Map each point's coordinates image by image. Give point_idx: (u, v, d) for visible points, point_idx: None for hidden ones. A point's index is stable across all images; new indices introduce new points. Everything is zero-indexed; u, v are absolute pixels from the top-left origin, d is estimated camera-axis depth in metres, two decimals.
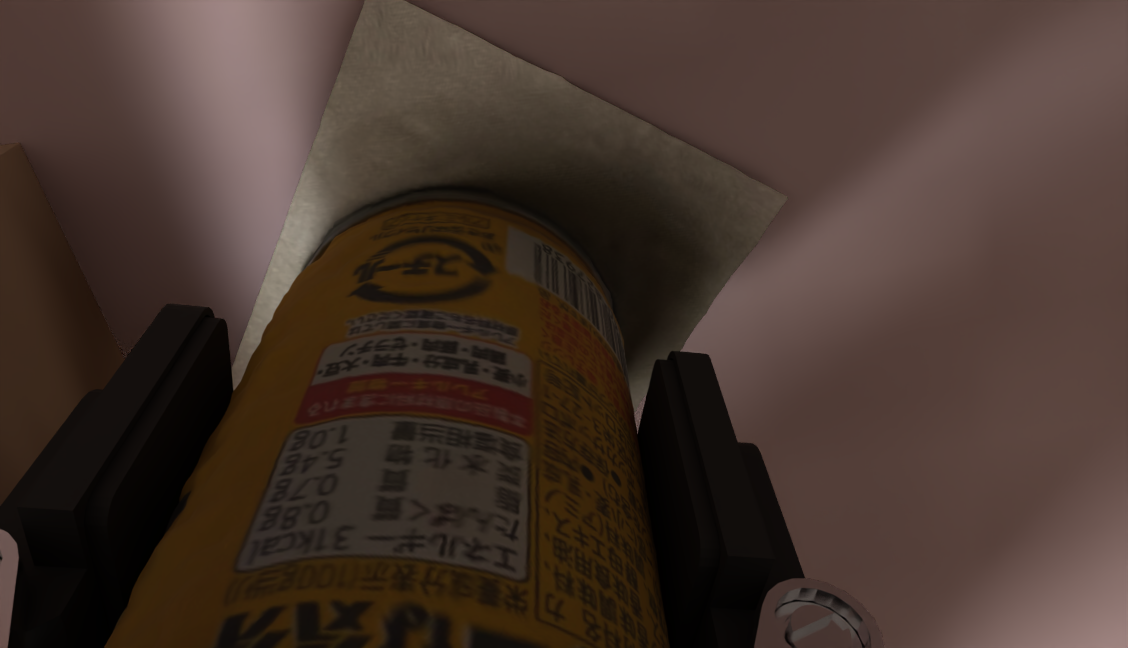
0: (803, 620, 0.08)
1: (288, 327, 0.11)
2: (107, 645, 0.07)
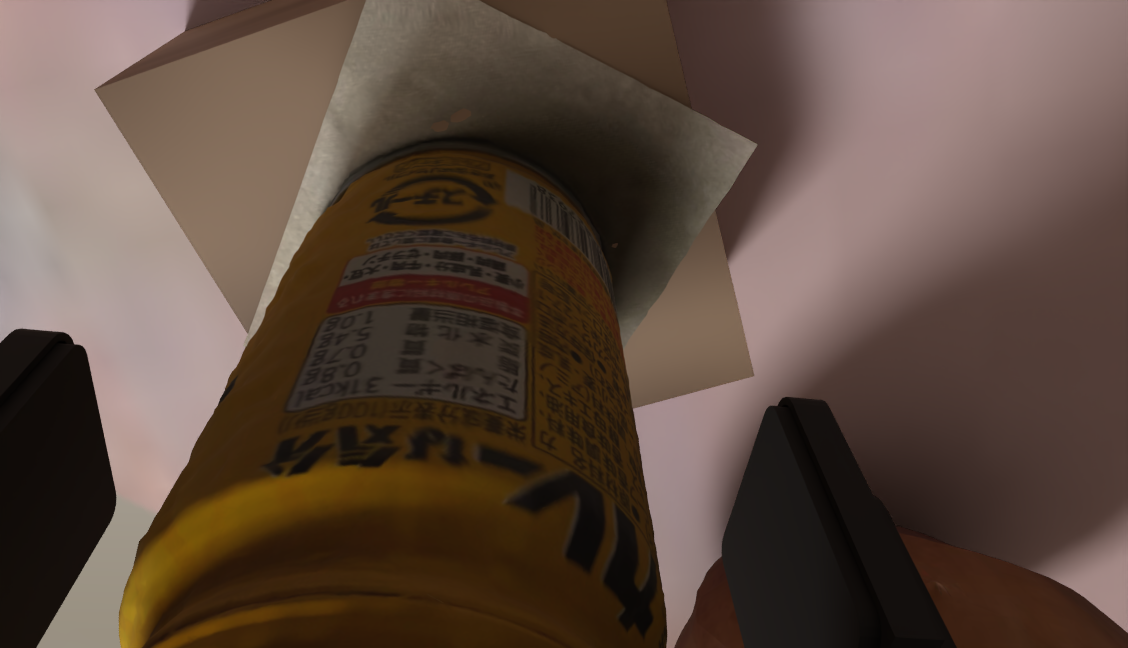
0: None
1: (314, 251, 0.12)
2: (178, 479, 0.09)
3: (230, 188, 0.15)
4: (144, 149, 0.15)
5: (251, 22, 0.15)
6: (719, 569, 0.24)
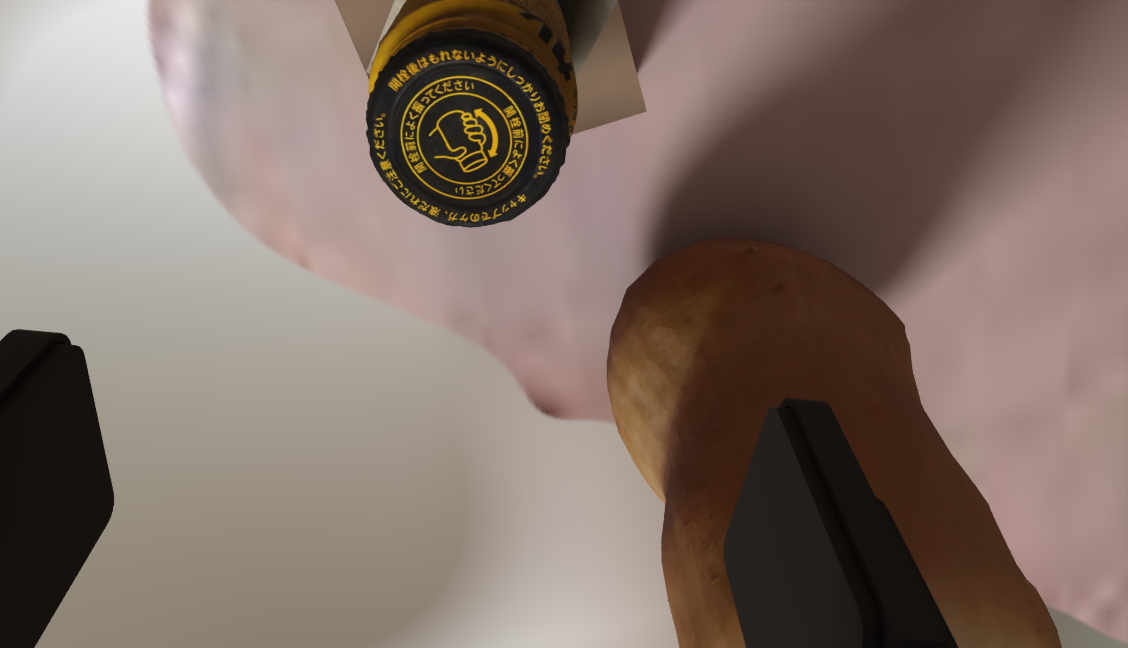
0: None
1: None
2: (392, 24, 0.23)
3: None
4: None
5: None
6: None
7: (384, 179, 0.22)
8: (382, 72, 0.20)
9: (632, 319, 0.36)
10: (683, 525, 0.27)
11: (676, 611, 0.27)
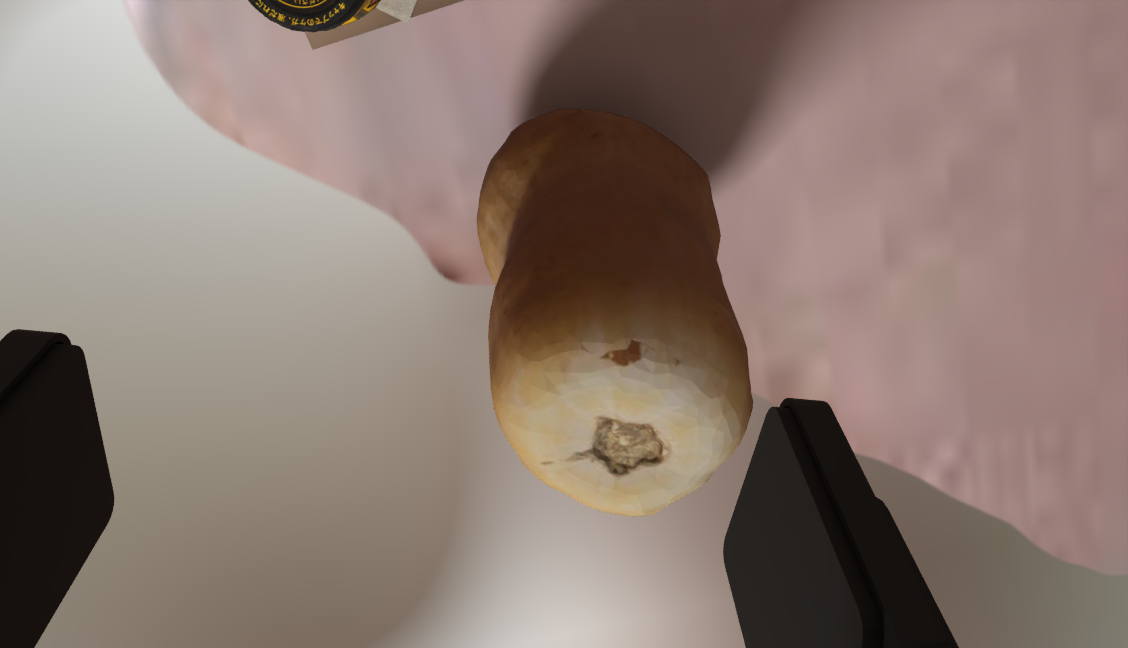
0: None
1: None
2: None
3: None
4: None
5: None
6: None
7: None
8: None
9: (491, 170, 0.45)
10: (495, 290, 0.36)
11: None
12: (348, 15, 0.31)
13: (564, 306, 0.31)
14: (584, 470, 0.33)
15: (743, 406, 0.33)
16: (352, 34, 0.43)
